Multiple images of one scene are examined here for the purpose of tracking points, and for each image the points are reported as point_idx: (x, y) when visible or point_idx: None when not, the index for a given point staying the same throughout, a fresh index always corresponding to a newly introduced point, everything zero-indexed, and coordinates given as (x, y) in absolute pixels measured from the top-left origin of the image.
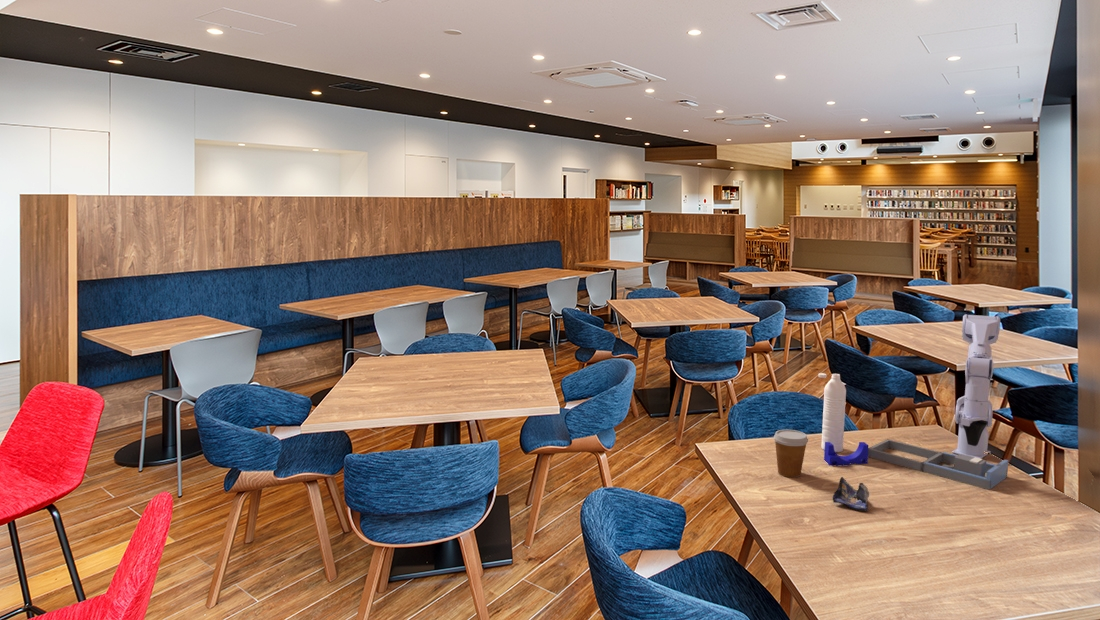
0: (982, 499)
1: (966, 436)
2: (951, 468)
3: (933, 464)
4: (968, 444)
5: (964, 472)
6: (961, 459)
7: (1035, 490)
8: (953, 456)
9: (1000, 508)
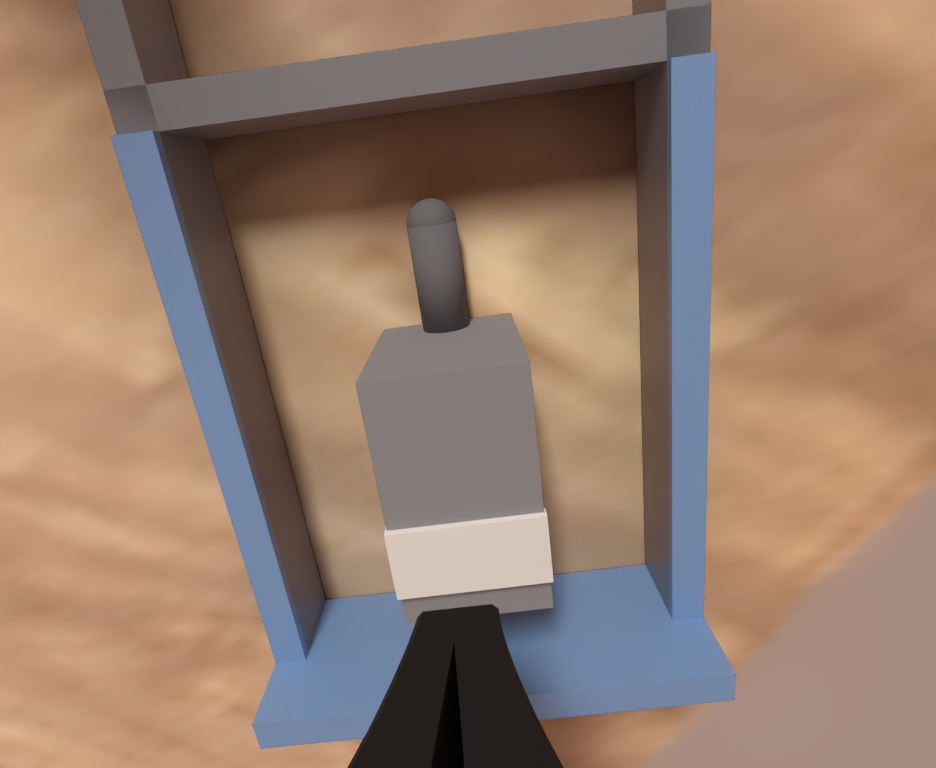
0: (103, 667)
1: (373, 722)
2: (419, 300)
3: (163, 230)
4: (419, 620)
5: (252, 514)
6: (371, 455)
7: (558, 751)
8: (668, 199)
9: (83, 763)
